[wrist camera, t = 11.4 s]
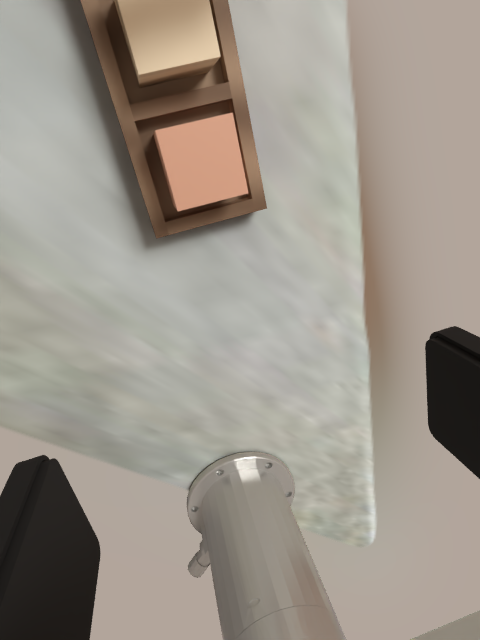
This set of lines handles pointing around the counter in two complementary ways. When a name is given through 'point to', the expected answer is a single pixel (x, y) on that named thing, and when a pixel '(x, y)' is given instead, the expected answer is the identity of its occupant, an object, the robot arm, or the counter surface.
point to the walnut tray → (174, 92)
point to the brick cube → (201, 161)
